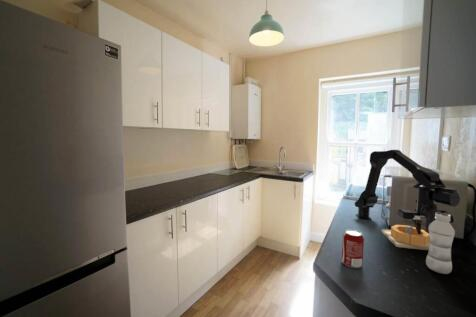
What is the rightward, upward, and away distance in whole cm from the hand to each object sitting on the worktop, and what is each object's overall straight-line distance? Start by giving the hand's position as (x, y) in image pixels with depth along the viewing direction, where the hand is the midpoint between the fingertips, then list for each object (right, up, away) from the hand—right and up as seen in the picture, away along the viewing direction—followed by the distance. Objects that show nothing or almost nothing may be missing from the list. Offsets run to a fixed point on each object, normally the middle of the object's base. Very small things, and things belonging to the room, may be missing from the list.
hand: (423, 234), depth 97 cm
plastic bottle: (-13, -5, -21) cm, 25 cm away
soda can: (-41, -5, -18) cm, 45 cm away
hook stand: (-5, -3, +2) cm, 7 cm away
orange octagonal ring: (-5, -2, +1) cm, 6 cm away
